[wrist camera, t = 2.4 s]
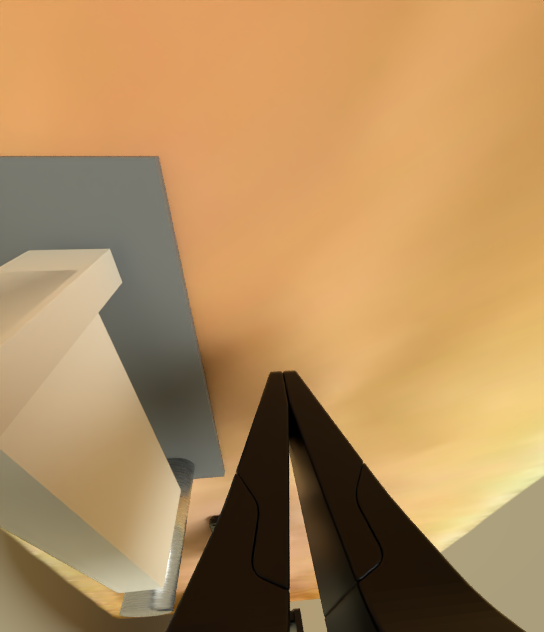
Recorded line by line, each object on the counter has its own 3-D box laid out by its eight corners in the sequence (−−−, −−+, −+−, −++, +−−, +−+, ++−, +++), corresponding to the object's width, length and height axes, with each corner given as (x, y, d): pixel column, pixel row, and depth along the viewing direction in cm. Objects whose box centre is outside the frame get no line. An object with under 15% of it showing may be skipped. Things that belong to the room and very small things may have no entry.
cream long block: (189, 463, 16) (167, 591, 12) (149, 466, 16) (112, 596, 12) (110, 248, 8) (-57, 398, 4) (28, 250, 8) (-248, 409, 4)
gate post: (198, 467, 19) (177, 613, 13) (164, 470, 19) (128, 618, 13) (192, 450, 17) (167, 605, 12) (155, 453, 17) (111, 611, 12)
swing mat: (224, 470, 19) (224, 476, 19) (24, 486, 19) (20, 492, 18) (158, 156, 8) (154, 157, 7) (-397, 155, 7) (-429, 156, 6)
